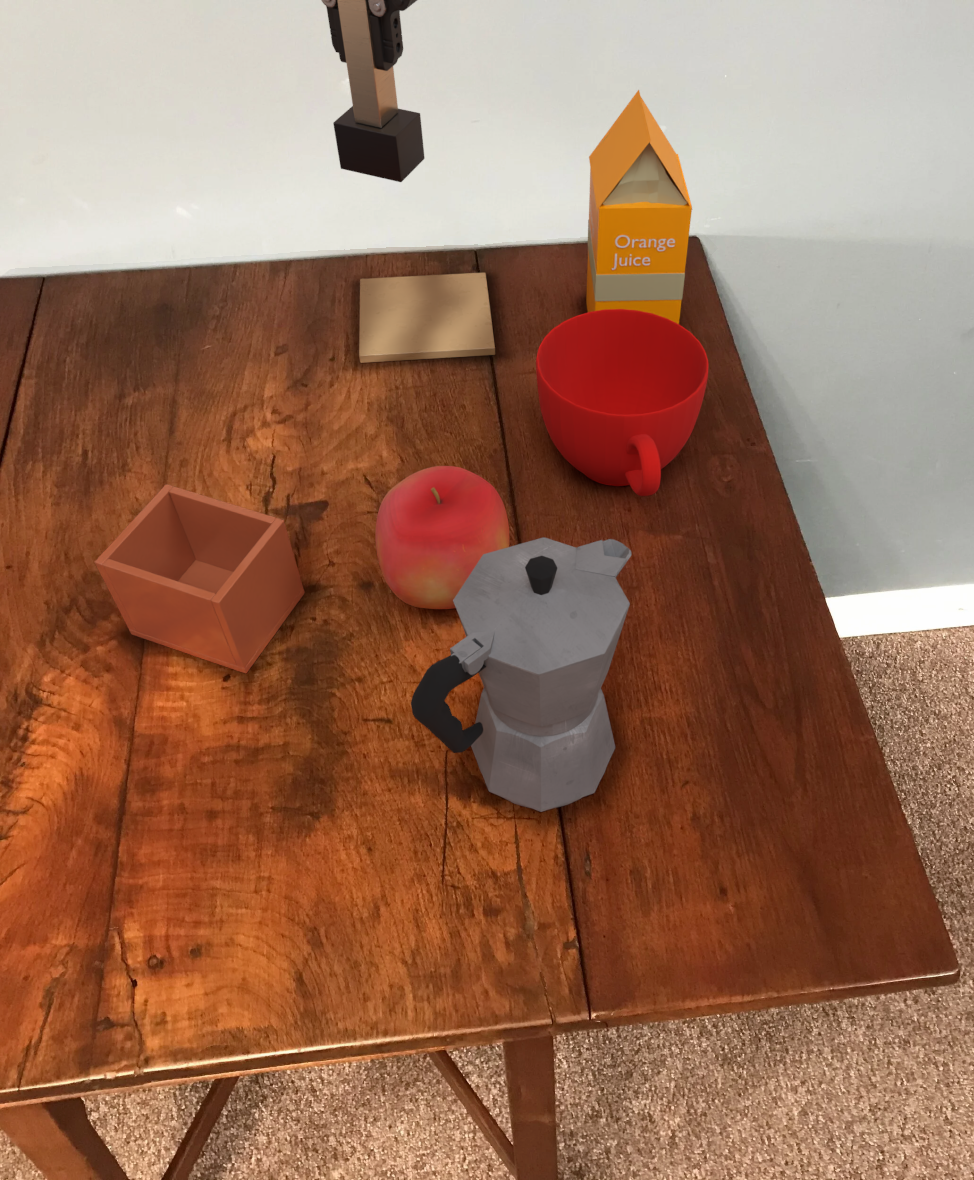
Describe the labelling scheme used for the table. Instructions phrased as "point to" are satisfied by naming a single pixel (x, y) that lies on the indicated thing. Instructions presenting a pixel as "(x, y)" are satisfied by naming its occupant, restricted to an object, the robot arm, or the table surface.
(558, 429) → the ceramic cup
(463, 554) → the apple
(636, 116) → the orange juice
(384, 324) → the board
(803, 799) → the table surface
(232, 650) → the box
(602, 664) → the coffeepot
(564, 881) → the table surface
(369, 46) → the steel square post
